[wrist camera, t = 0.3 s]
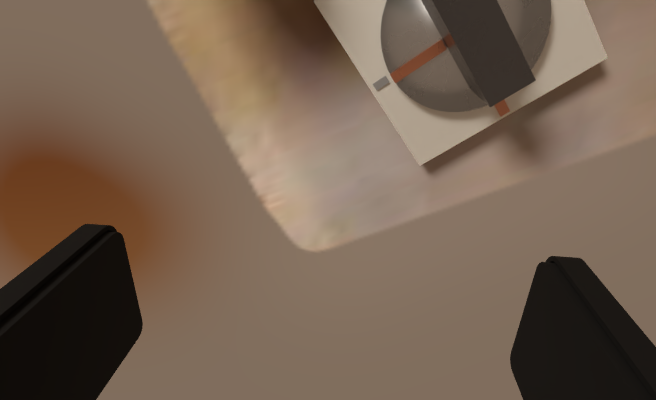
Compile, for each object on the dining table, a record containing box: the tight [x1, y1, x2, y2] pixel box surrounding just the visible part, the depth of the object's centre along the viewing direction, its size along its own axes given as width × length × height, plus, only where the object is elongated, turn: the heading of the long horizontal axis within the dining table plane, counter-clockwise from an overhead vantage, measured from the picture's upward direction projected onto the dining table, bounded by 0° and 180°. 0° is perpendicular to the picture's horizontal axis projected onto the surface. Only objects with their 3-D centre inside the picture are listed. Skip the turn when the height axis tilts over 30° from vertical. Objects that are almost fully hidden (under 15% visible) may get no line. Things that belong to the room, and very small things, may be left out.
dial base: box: [314, 0, 608, 166], centre depth 32 cm, size 16×16×2 cm
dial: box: [380, 0, 551, 112], centre depth 27 cm, size 12×12×7 cm
